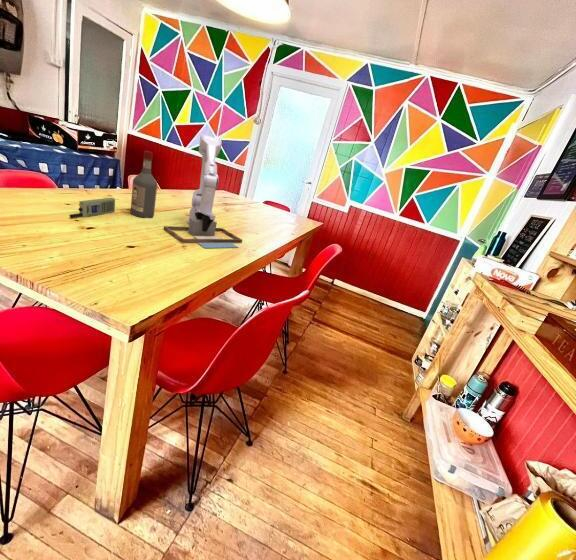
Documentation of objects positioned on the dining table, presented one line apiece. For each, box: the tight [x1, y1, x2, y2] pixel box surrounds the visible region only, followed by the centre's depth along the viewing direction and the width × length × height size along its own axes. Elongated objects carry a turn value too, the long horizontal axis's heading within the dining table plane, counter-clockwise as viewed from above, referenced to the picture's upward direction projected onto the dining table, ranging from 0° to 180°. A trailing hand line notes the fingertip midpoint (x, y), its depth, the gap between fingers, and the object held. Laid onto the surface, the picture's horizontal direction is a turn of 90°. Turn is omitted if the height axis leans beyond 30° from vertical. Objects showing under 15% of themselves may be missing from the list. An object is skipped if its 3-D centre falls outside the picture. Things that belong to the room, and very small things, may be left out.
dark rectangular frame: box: [163, 225, 243, 244], centre depth 151 cm, size 17×32×2 cm, turn 135°
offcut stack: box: [193, 235, 223, 239], centre depth 149 cm, size 4×15×2 cm, turn 133°
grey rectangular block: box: [187, 219, 217, 237], centre depth 152 cm, size 4×12×7 cm, turn 135°
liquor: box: [130, 150, 158, 219], centre depth 152 cm, size 9×9×30 cm
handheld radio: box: [68, 197, 116, 219], centre depth 138 cm, size 7×3×25 cm
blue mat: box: [197, 243, 239, 250], centre depth 144 cm, size 6×18×1 cm, turn 135°
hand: (202, 229), depth 152 cm, fingers closed on grey rectangular block, 4 cm apart
